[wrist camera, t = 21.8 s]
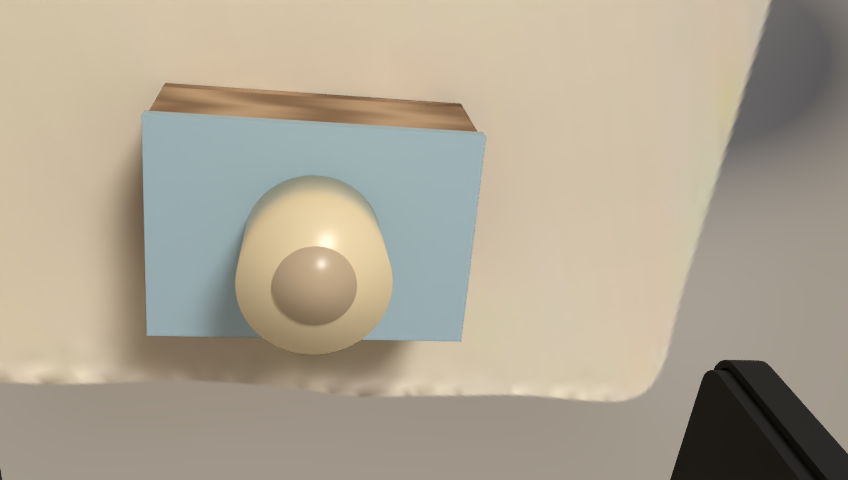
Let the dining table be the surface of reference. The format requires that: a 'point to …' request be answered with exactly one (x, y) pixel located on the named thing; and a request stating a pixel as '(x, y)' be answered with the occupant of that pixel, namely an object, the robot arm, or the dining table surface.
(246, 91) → the crate
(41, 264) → the dining table surface
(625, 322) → the dining table surface
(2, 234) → the dining table surface
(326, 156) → the lid
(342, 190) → the cream bottle with knob
